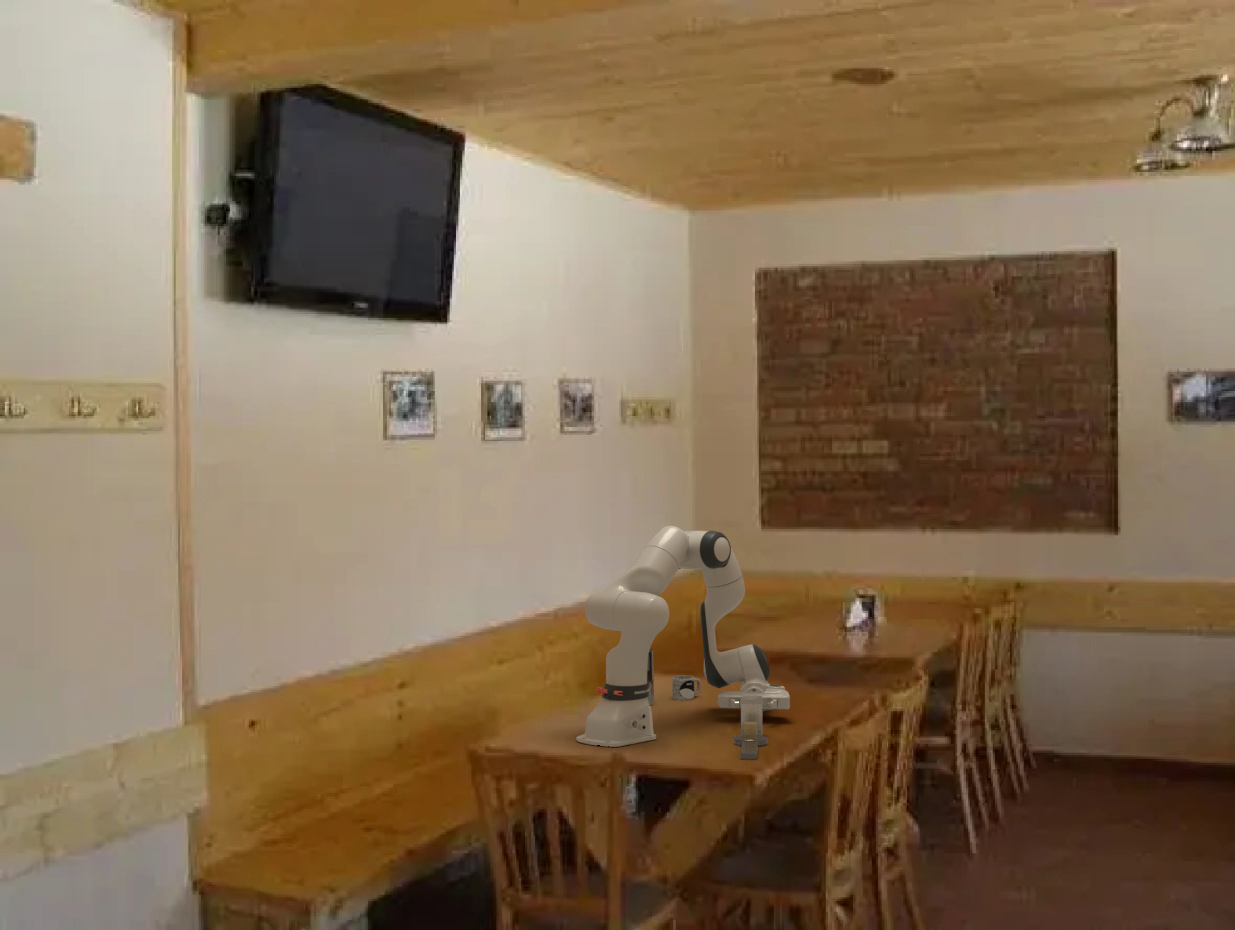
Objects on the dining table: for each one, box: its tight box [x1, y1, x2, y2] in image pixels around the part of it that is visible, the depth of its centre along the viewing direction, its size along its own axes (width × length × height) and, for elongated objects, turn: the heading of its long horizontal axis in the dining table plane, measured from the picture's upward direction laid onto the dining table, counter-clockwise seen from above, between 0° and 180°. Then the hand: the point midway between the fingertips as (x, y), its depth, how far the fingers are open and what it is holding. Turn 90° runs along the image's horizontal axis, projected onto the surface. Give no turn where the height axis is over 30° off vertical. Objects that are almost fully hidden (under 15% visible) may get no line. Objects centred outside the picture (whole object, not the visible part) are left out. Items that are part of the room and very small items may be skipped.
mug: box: [671, 674, 702, 702], centre depth 465 cm, size 10×7×7 cm
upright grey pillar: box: [740, 696, 763, 736], centre depth 409 cm, size 6×6×10 cm
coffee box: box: [647, 648, 655, 706], centre depth 456 cm, size 9×6×16 cm
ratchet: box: [733, 722, 769, 760], centre depth 392 cm, size 24×9×6 cm, turn 173°
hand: (753, 705), depth 421 cm, fingers open, 8 cm apart
